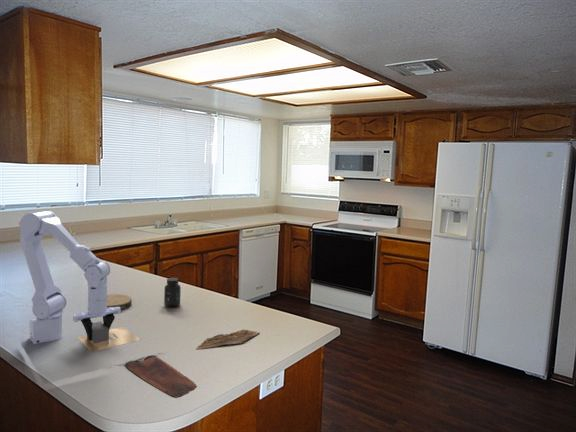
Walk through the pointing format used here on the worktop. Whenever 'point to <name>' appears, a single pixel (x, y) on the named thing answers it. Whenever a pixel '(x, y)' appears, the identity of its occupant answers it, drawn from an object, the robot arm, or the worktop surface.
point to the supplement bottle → (172, 293)
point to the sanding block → (99, 334)
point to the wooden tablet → (162, 376)
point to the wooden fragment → (228, 339)
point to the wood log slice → (118, 301)
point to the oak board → (111, 339)
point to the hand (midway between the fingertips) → (97, 337)
